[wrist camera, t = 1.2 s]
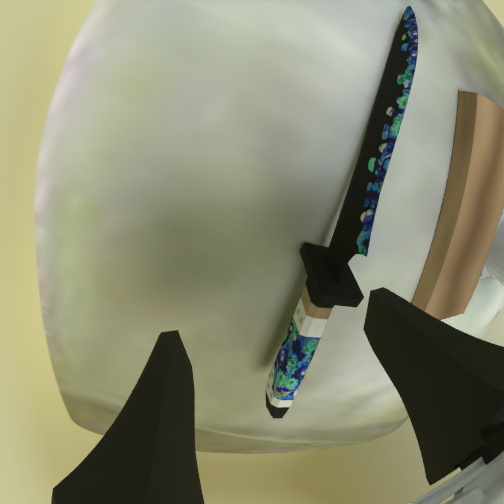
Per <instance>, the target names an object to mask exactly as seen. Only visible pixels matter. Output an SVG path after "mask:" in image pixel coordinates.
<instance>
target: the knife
mask: <svg viewBox="0 0 504 504" xmlns="http://www.w3.org/2000/svg"><path fill="white" fill-rule="evenodd" d="M417 53H418V28H417V23H416V18H415V14H414V12H413V10H412V8H411V6H408V7H407V8H406V10H405V11H404V13H403V15H402V18H401V21H400V23H399V26H398V29H397V31H396V34H395V37H394V41H393V44H392V48H391V51H390V54H389V58H388V61H387V65H386V68H385V71H384V75H383V78H382V81H381V85H380V88H379V91H378V95H377V98H376V101H375V105H374V108H373V111H372V114H371V118H370V121H369V124H368V127H367V131H366V134H365V138H364V141H363V144H362V147H361V151H360V154H359V157H358V160H357V163H356V167H355V170H354V173H353V176H352V179H351V182H350V185H349V188H348V191H347V194H346V197H345V200H344V203H343V206H342V209H341V212H340V215H339V218H338V221H337V225H336V228H335V231H334V234H333V237H332V239H331V242H330V245H329V248H326V247H321V246H317V245H312V244H308V243H305V244H303V246H302V248H301V249H300V254H301V257H302V260H303V263H304V266H305V269H306V272H307V275H308V278H307V281H306V284H305V287H304V289H303V292H302V295H301V297H300V300H299V303H298V305H297V308H296V311H295V313H294V316H293V318H292V321H291V323H290V326H289V328H288V331H287V333H286V336H285V338H284V341H283V343H282V346H281V348H280V351H279V353H278V355H277V358H276V360H275V363H274V365H273V367H272V370H271V372H270V374H269V377H268V379H267V383H266V407H267V409H268V411H269V412H270V414H271V416H272V417H273V418H282V417H283V416H284V415H285V413H286V412H287V410H288V409H289V408H290V406H291V404H292V402H293V399H294V397H295V395H296V393H297V391H298V389H299V386H300V384H301V382H302V380H303V378H304V375H305V373H306V371H307V369H308V366H309V364H310V362H311V359H312V357H313V355H314V352H315V350H316V348H317V345H318V343H319V340H320V338H321V335H322V333H323V330H324V328H325V325H326V323H327V320H328V318H329V315H330V313H331V310H332V308H333V307H334V305H340V306H348V307H357V306H358V305H359V303H360V302H361V301H362V299H363V298H364V296H363V294H362V292H361V290H360V288H359V286H358V284H357V282H356V280H355V278H354V275H353V273H352V271H351V269H350V267H349V265H348V262H349V260H350V259H351V258H352V257H353V256H354V255H355V254H362V255H364V256H366V257H367V253H368V247H369V242H370V236H371V231H372V227H373V222H374V217H375V212H376V208H377V204H378V200H379V195H380V192H381V188H382V185H383V182H384V178H385V175H386V172H387V169H388V165H389V162H390V159H391V155H392V152H393V149H394V145H395V142H396V139H397V135H398V132H399V129H400V125H401V122H402V119H403V115H404V112H405V108H406V105H407V101H408V97H409V93H410V89H411V85H412V81H413V76H414V72H415V67H416V60H417Z"/></svg>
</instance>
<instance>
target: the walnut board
mask: <svg viewBox="0 0 504 504" xmlns="http://www.w3.org/2000/svg"><path fill="white" fill-rule="evenodd" d="M503 207H504V109H503V108H502V107H500V106H499V105H497V104H495V103H494V102H492V101H490V100H489V99H487V98H485V97H483V96H482V95H480V94H478V93H473V92H466V91H459V94H458V109H457V121H456V130H455V138H454V146H453V153H452V159H451V165H450V171H449V176H448V181H447V186H446V191H445V195H444V200H443V204H442V208H441V212H440V216H439V220H438V224H437V228H436V231H435V235H434V238H433V242H432V245H431V248H430V252H429V255H428V258H427V261H426V264H425V267H424V270H423V273H422V276H421V279H420V281H419V284H418V287H417V290H416V292H415V295H414V297H413V300H412V303H411V304H413V305H415V306H416V307H418V308H420V309H421V310H423V311H425V312H426V313H428V314H430V315H431V316H433V317H435V318H437V319H438V320H442V319H445V318H449V317H452V316H456V315H459V314H462V313H464V311H465V309H466V307H467V305H468V303H469V301H470V299H471V297H472V294H473V292H474V290H475V288H476V285H477V283H478V281H479V278H480V276H481V273H482V271H483V268H484V266H485V263H486V261H487V258H488V255H489V252H490V250H491V247H492V244H493V241H494V238H495V235H496V232H497V228H498V225H499V222H500V218H501V215H502V211H503Z"/></svg>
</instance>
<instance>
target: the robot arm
mask: <svg viewBox="0 0 504 504" xmlns="http://www.w3.org/2000/svg"><path fill="white" fill-rule="evenodd" d="M490 276H493V277H494V278H496V279H497V280H498V281H499V282H500V283H501V284H502V285H504V208H503V211H502V215H501V218H500V222H499V225H498V228H497V232H496V235H495V238H494V241H493V244H492V247H491V250H490V252H489V255H488V258H487V261H486V263H485V266H484V268H483V271H482V273H481V276H480V278H479V279H481V278H485V277H490ZM364 331H365V334H366V336H367V338H368V341H369V343H370V345H371V347H372V349H373V351H374V353H375V355H376V356H377V358H378V360H379V361H380V363H381V365H382V366H383V368H384V369H385V371H386V373H387V374H388V376H389V378H390V379H391V381H392V383H393V384H394V386H395V388H396V389H397V391H398V393H399V395H400V397H401V399H402V401H403V403H404V405H405V408H406V410H407V413H408V415H409V417H410V420H411V423H412V425H413V428H414V431H415V434H416V437H417V440H418V443H419V447H420V450H421V454H422V459H423V463H424V467H425V473H426V478H427V480H428V482H429V484H430V485H432V484H434V483H436V482H437V481H439V480H440V479H442V478H444V477H445V476H447V475H448V474H450V473H451V472H453V471H454V470H456V469H457V468H459V467H460V468H461V472H459V473H458V474H457V475H455V476H454V477H452V478H451V479H449V480H448V481H446V482H444V483H443V484H441V485H440V486H438V487H436V488H435V489H433V490H431V491H430V492H428V493H426V494H424V495H423V496H421V497H419V498H417V499H415V500H413V501H412V502H410V503H408V504H439V503H440V502H442V501H443V500H445V499H446V498H448V497H449V496H451V495H452V494H454V493H455V495H454V498H453V499H452V500H450V501H448V502H446V503H444V504H504V347H502V346H499V345H495V344H492V343H489V342H486V341H483V340H481V339H478V338H476V337H473V336H471V335H469V334H466V333H464V332H462V331H460V330H457V329H455V328H453V327H451V326H450V325H448V324H446V323H444V322H442V321H440V320H438V319H437V318H435V317H433V316H431V315H430V314H428V313H426V312H425V311H423V310H421V309H420V308H418V307H416V306H415V305H413V304H411V303H410V302H408V301H406V300H405V299H403V298H401V297H400V296H398V295H396V294H395V293H393V292H391V291H390V290H388V289H386V288H384V287H383V288H379V289H376V290H372V291H370V297H369V303H368V308H367V314H366V319H365V324H364ZM194 400H195V394H194V381H193V372H192V365H191V363H190V360H189V358H188V355H187V353H186V350H185V348H184V345H183V343H182V340H181V338H180V335H179V332H178V330H175V331H168V332H161V334H160V335H159V337H158V339H157V342H156V344H155V346H154V348H153V351H152V353H151V355H150V357H149V359H148V362H147V364H146V366H145V368H144V370H143V372H142V374H141V376H140V378H139V380H138V382H137V384H136V386H135V387H134V389H133V391H132V393H131V395H130V397H129V398H128V400H127V402H126V404H125V405H124V407H123V409H122V410H121V412H120V413H119V415H118V416H117V418H116V419H115V421H114V422H113V424H112V425H111V427H110V428H109V430H108V431H107V432H106V434H105V435H104V436H103V438H102V439H101V440H100V442H99V443H98V444H97V445H96V447H95V448H94V449H93V450H92V451H91V452H90V453H89V454H88V456H87V457H86V458H85V459H84V460H83V461H82V462H81V463H80V464H79V466H77V467H76V468H75V469H74V470H73V471H72V472H71V473H70V474H69V475H68V476H67V477H66V478H64V479H63V480H62V481H61V482H60V483H59V484H58V485H57V486H55V487H54V488H53V493H52V502H51V504H204V499H203V495H202V490H201V484H200V479H199V473H198V467H197V460H196V453H195V419H194V411H195V409H194Z"/></svg>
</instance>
